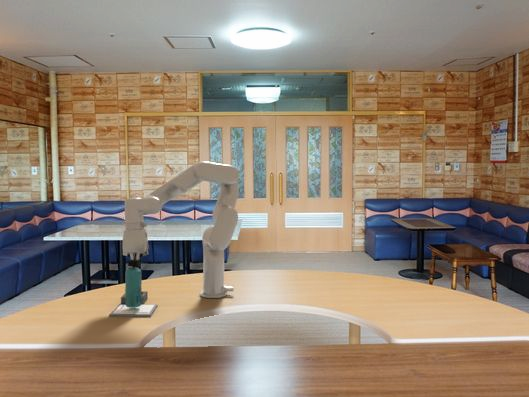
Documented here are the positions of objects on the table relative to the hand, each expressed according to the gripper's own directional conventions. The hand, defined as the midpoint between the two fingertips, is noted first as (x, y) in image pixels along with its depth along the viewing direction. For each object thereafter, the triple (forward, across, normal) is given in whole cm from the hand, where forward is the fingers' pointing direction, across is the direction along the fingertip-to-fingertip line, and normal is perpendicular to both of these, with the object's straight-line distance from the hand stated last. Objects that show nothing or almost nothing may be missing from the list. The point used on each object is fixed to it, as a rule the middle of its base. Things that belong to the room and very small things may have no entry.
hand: (136, 268), depth 186 cm
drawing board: (+15, -2, +12) cm, 19 cm away
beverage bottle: (+14, -2, +12) cm, 19 cm away
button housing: (+15, +1, 0) cm, 15 cm away
